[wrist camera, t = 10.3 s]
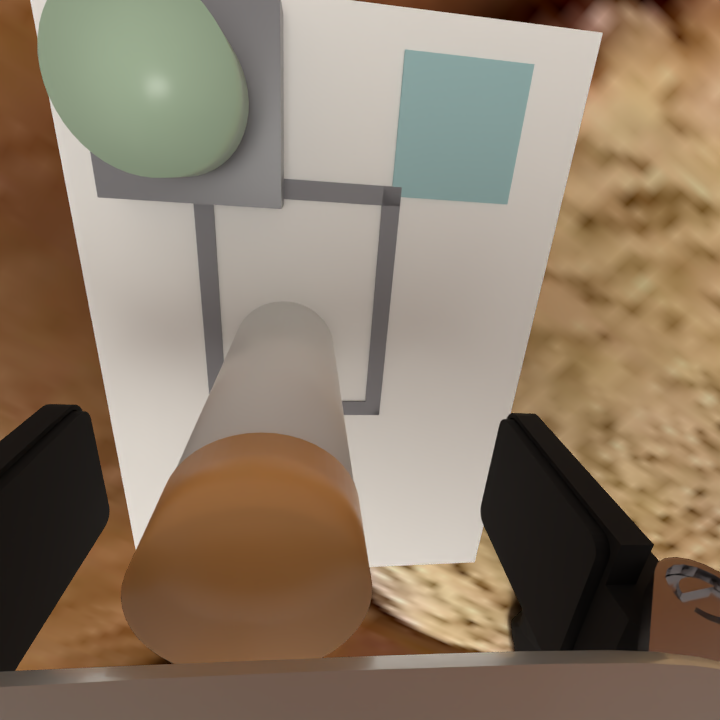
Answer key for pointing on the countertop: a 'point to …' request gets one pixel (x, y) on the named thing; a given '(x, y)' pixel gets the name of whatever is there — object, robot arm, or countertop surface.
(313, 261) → the sheet
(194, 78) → the button
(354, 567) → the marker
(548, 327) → the countertop surface
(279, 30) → the button housing
